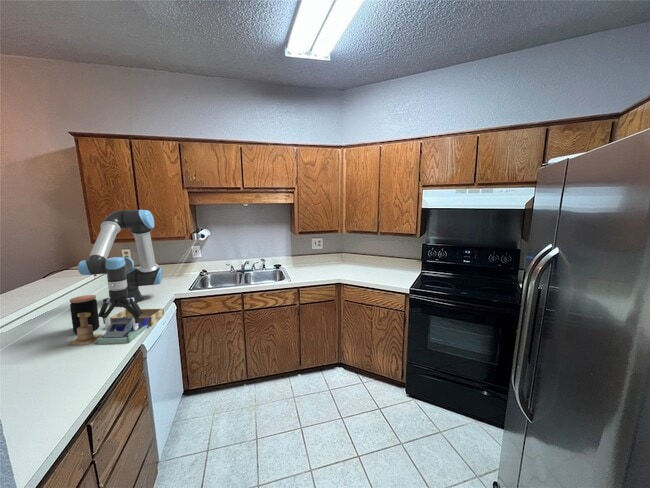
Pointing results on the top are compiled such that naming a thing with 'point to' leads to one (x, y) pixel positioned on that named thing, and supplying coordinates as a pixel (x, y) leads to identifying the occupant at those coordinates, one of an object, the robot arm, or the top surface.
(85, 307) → the coffee jar
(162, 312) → the crate
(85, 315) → the handle
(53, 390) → the top surface
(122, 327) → the fish toy
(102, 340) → the tray
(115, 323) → the gray rectangular frame
